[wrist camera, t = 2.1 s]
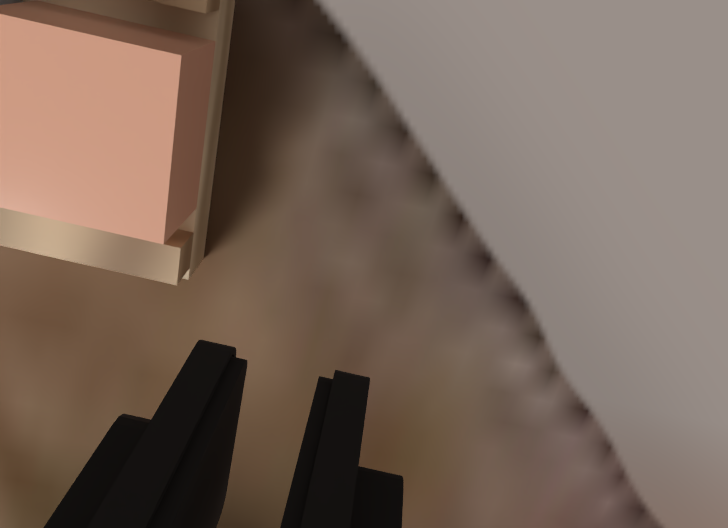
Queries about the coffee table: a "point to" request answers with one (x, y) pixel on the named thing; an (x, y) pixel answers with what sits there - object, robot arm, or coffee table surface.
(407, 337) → the coffee table surface
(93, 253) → the wooden tray
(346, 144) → the coffee table surface
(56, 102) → the tile
